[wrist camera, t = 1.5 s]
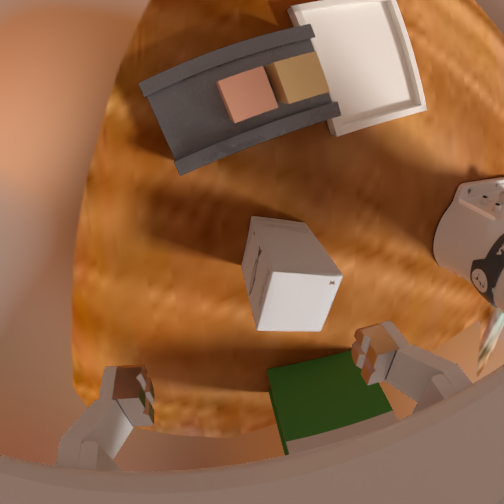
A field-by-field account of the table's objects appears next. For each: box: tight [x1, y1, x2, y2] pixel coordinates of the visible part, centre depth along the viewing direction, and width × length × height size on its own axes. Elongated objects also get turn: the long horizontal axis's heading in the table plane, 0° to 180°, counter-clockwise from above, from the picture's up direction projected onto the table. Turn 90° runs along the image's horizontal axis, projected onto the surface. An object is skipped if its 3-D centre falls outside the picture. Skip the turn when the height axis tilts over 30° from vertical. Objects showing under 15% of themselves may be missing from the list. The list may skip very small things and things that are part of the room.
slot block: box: [138, 24, 341, 176], centre depth 28 cm, size 17×10×6 cm, turn 110°
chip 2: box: [216, 66, 279, 123], centre depth 26 cm, size 4×4×4 cm
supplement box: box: [241, 216, 343, 332], centre depth 35 cm, size 7×7×13 cm
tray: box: [287, 0, 427, 137], centre depth 29 cm, size 14×16×2 cm
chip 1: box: [265, 51, 330, 104], centre depth 25 cm, size 4×4×4 cm
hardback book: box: [267, 350, 398, 455], centre depth 45 cm, size 18×7×24 cm, turn 95°
